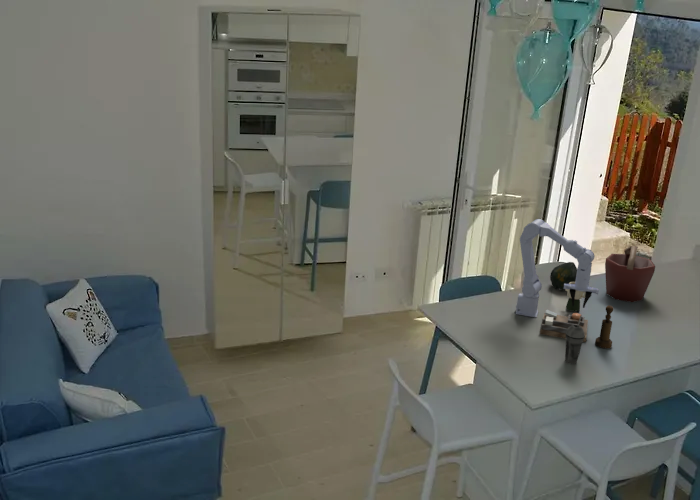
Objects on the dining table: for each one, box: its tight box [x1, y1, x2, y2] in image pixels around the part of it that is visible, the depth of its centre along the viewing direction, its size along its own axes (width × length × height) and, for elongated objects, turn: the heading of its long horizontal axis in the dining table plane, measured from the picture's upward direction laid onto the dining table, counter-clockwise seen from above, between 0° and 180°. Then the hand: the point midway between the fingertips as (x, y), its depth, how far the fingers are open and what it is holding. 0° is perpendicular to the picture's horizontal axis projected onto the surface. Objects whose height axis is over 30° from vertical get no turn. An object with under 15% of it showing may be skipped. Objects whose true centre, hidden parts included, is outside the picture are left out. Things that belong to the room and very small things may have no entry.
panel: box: [539, 312, 589, 343], centre depth 303 cm, size 19×20×4 cm
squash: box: [549, 261, 578, 291], centre depth 350 cm, size 14×15×15 cm
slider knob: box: [545, 316, 554, 326], centre depth 300 cm, size 3×5×4 cm, turn 160°
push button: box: [571, 312, 582, 320], centre depth 307 cm, size 4×4×2 cm
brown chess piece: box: [594, 304, 614, 350], centre depth 287 cm, size 7×6×18 cm
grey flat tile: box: [544, 309, 558, 318], centre depth 311 cm, size 5×4×1 cm
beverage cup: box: [564, 314, 585, 365], centre depth 272 cm, size 7×7×20 cm
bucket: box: [604, 245, 656, 303], centre depth 341 cm, size 24×22×25 cm
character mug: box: [564, 282, 586, 312], centre depth 323 cm, size 11×7×13 cm, turn 38°
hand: (578, 306), depth 305 cm, fingers open, 4 cm apart
